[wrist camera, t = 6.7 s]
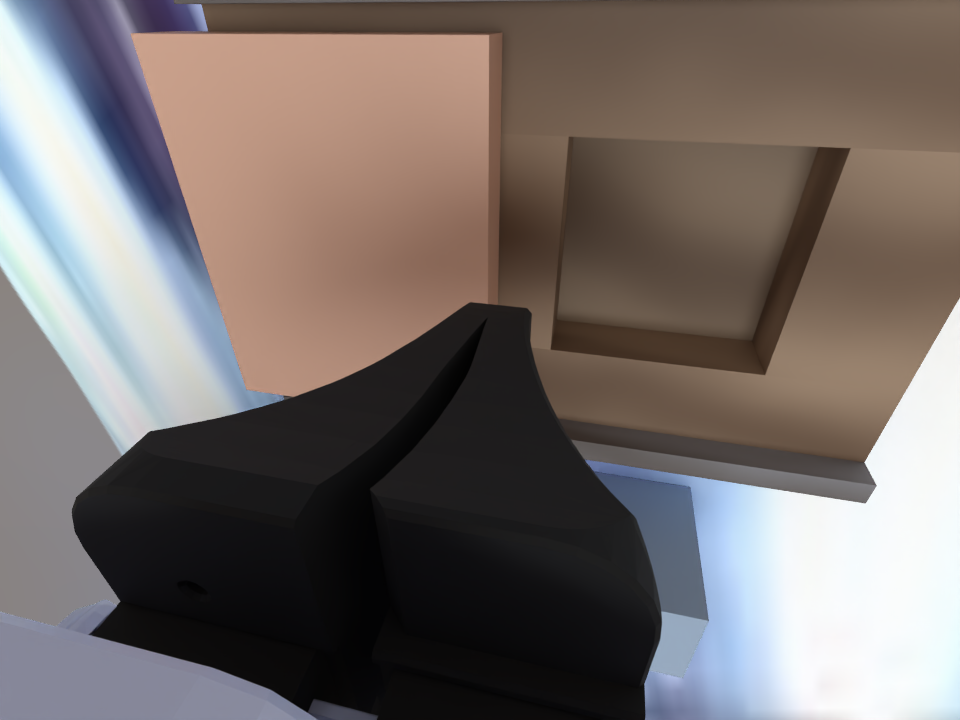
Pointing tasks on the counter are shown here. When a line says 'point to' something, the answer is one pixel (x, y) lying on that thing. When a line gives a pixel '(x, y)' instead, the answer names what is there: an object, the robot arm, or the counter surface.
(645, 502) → the block
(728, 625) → the counter surface
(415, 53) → the lid
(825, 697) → the counter surface
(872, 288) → the board
